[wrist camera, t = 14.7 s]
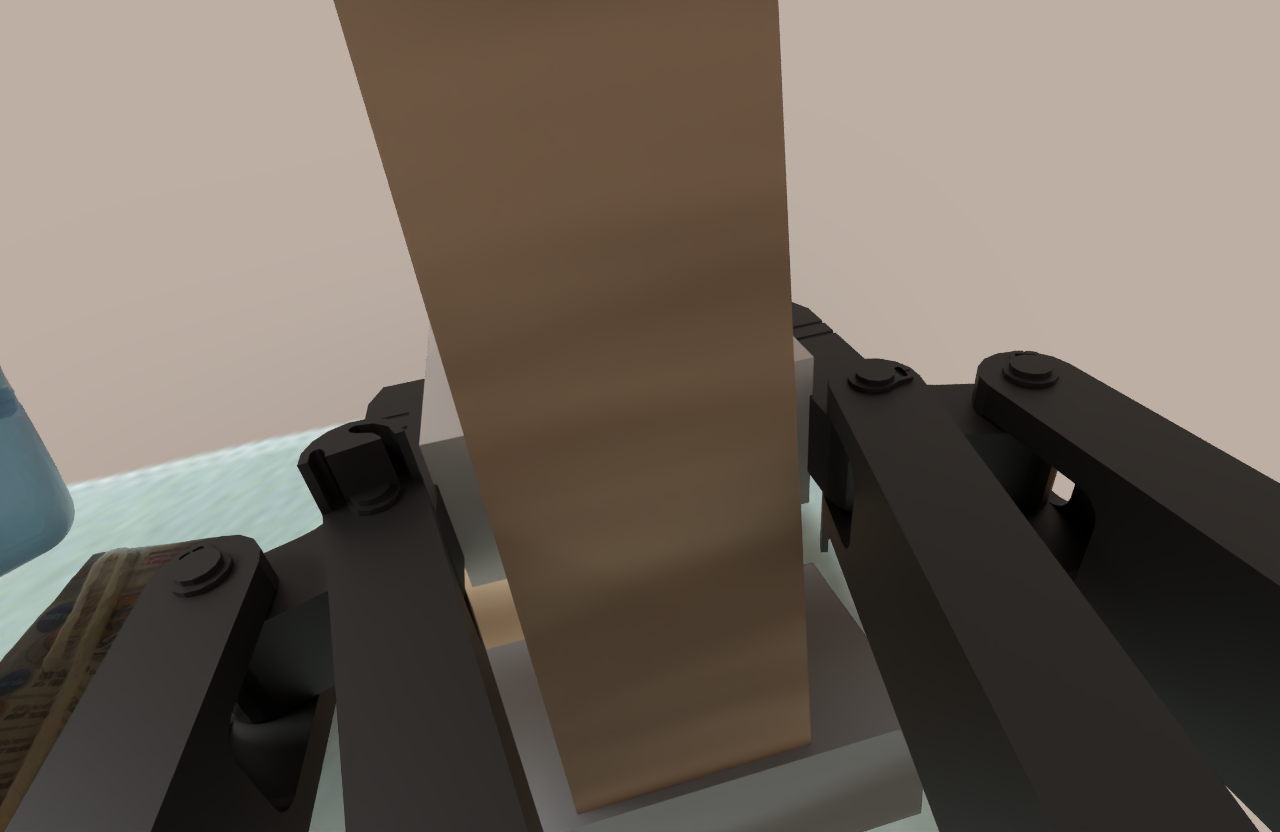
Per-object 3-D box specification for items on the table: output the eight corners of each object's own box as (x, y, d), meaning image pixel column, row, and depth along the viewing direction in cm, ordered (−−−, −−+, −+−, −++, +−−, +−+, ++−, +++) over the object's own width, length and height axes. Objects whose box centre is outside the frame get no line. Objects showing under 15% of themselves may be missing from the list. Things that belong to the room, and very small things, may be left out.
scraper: (920, 812, 12) (986, -132, 6) (491, 951, 11) (48, -12, 5) (815, 643, 16) (791, -38, 10) (489, 735, 15) (237, 41, 9)
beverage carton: (285, 602, 38) (233, 518, 35) (86, 1050, 22) (-49, 983, 19) (146, 623, 38) (80, 541, 34) (-152, 1088, 22) (-336, 1028, 19)
